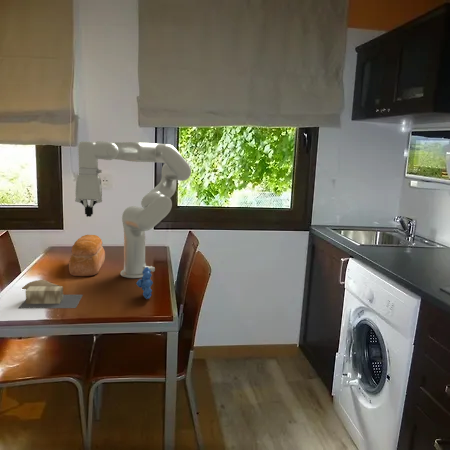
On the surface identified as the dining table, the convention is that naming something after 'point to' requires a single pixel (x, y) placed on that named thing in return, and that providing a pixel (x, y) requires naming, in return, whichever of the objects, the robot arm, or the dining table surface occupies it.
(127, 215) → the robot arm
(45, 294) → the birch block
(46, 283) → the clay tablet
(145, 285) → the grapes
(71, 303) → the rubber mat
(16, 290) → the dining table surface
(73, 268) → the bread
